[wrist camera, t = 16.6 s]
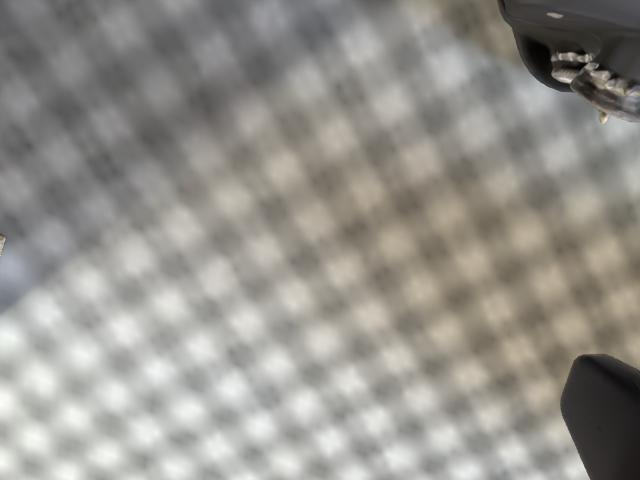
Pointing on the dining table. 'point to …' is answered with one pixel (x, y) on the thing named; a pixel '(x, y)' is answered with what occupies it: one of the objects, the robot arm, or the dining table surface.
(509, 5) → the can opener
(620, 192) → the dining table surface
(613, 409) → the robot arm
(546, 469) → the dining table surface
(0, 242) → the tan upright block
